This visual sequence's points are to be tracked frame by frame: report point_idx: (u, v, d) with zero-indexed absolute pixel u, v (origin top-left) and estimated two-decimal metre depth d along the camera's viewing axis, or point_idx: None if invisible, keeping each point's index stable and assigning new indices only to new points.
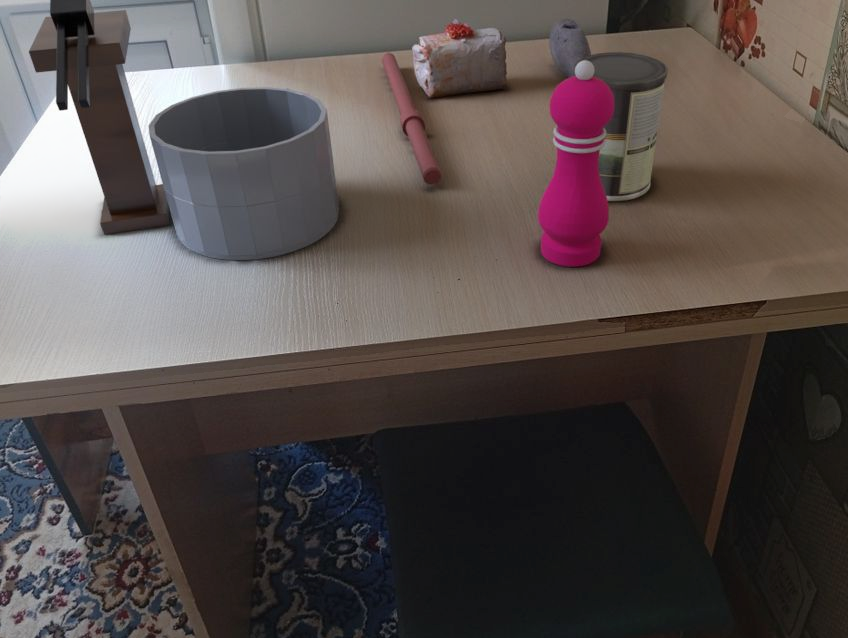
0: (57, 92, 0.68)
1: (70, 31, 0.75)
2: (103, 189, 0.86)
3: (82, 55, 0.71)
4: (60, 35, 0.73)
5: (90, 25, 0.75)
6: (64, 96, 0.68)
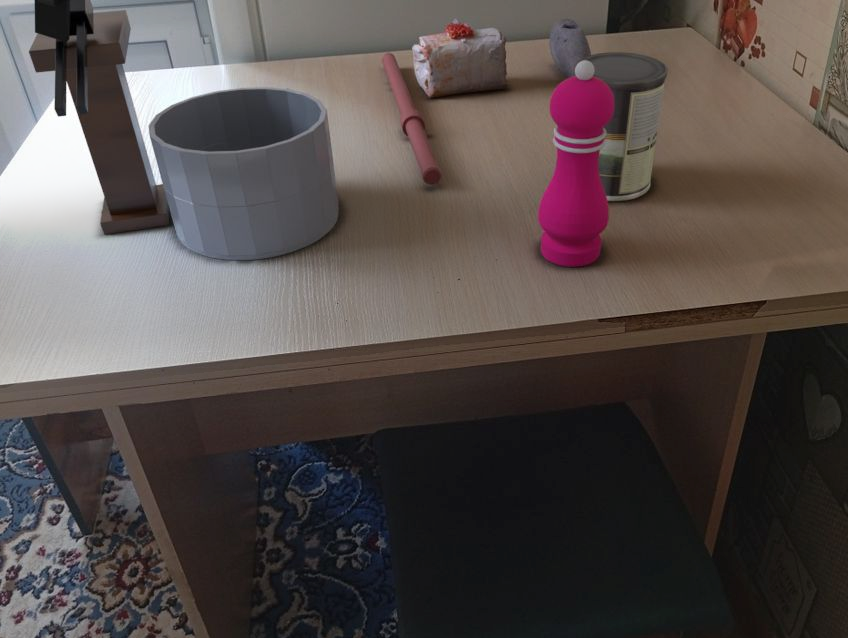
0: (56, 98, 0.68)
1: None
2: (103, 189, 0.86)
3: (81, 58, 0.71)
4: None
5: (89, 24, 0.75)
6: (62, 102, 0.68)
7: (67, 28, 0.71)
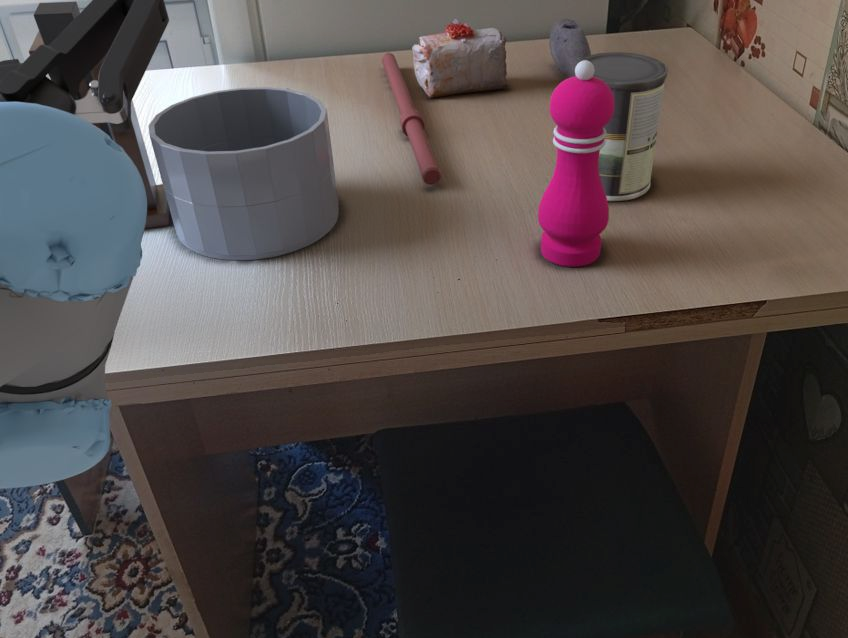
0: None
1: None
2: None
3: None
4: None
5: None
6: None
7: None
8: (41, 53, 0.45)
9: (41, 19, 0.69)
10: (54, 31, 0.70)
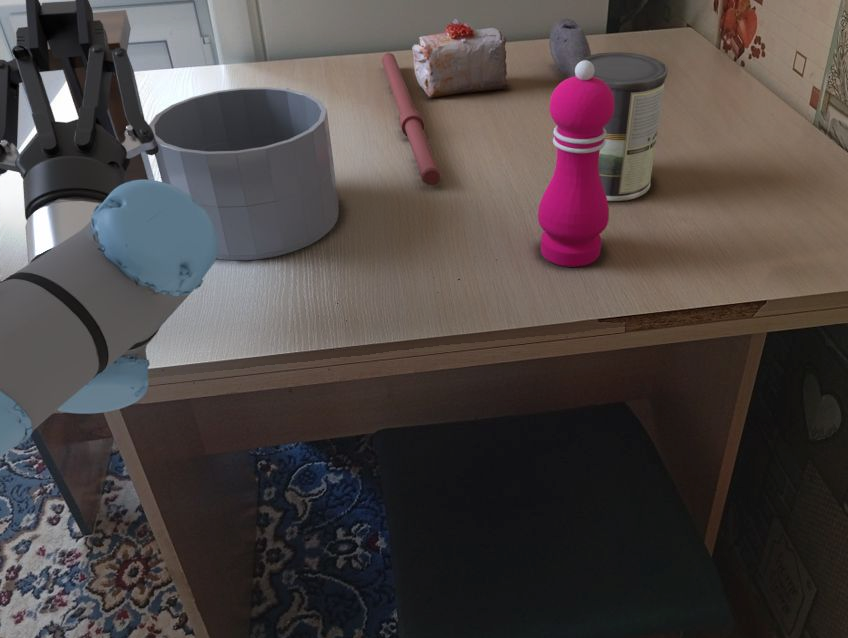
0: None
1: None
2: None
3: None
4: (71, 77, 0.74)
5: None
6: None
7: None
8: (84, 112, 0.64)
9: (45, 19, 0.69)
10: (58, 31, 0.70)
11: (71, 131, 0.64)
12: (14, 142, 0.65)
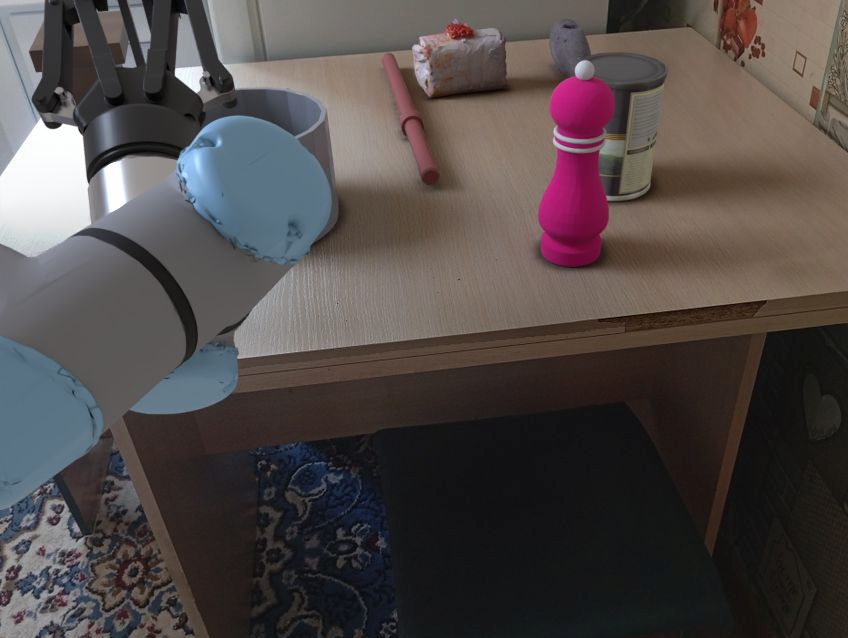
0: None
1: None
2: None
3: None
4: (129, 25, 0.64)
5: None
6: None
7: None
8: (153, 55, 0.54)
9: None
10: None
11: (138, 78, 0.54)
12: (69, 92, 0.55)
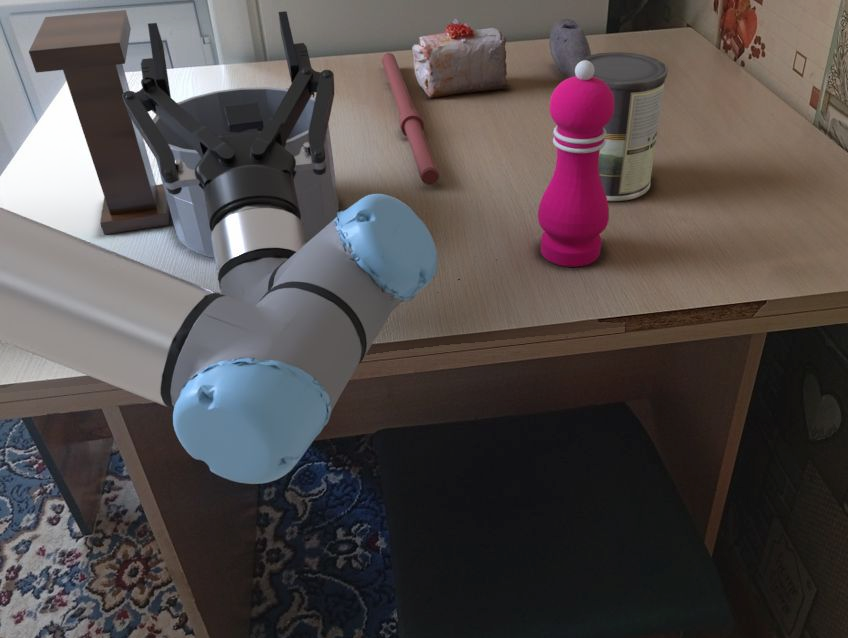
0: None
1: None
2: (103, 189, 0.86)
3: None
4: None
5: None
6: None
7: None
8: (270, 124, 0.68)
9: (234, 128, 0.74)
10: None
11: (244, 141, 0.68)
12: None
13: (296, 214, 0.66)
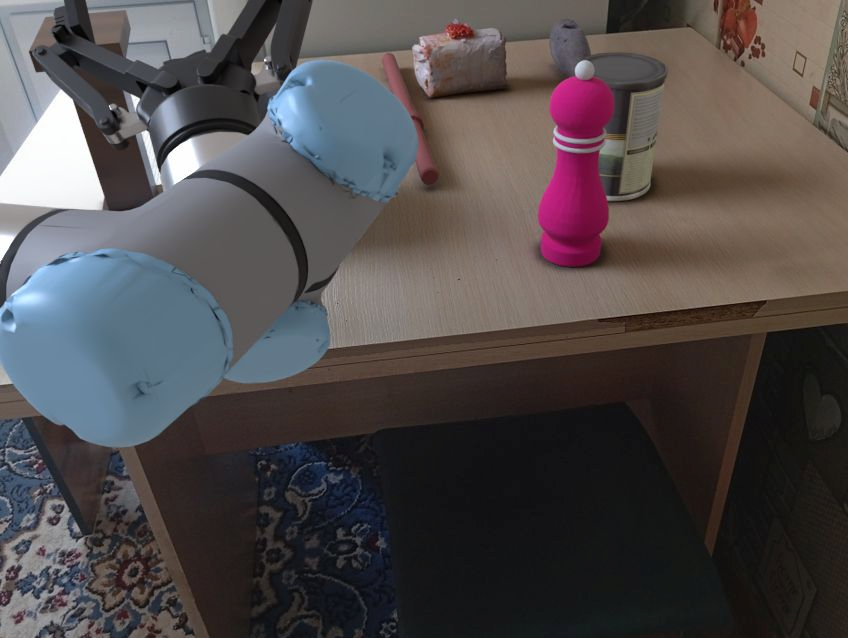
0: None
1: None
2: (103, 189, 0.86)
3: None
4: None
5: None
6: None
7: None
8: (223, 40, 0.55)
9: None
10: None
11: (191, 66, 0.55)
12: None
13: None
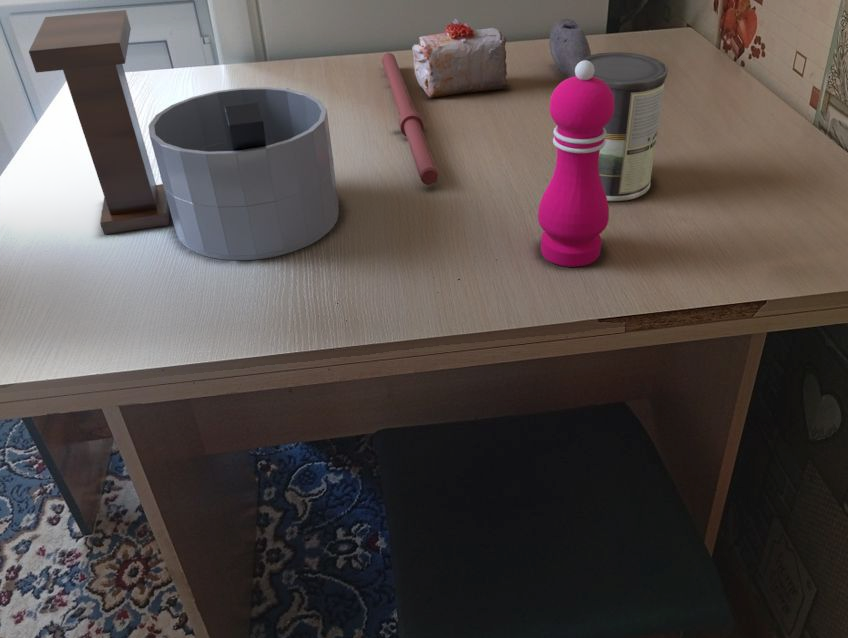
0: None
1: None
2: (103, 189, 0.86)
3: None
4: None
5: None
6: None
7: None
8: None
9: (235, 128, 0.74)
10: (244, 136, 0.75)
11: None
12: None
13: None
